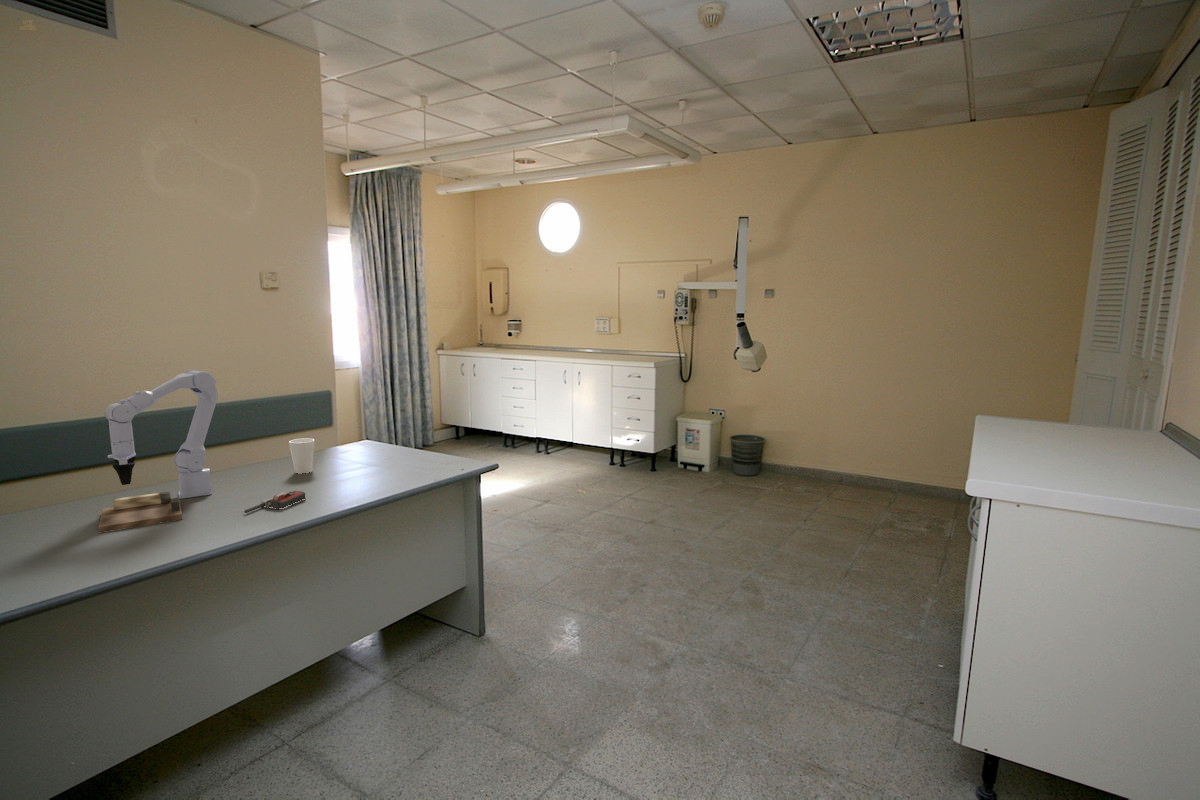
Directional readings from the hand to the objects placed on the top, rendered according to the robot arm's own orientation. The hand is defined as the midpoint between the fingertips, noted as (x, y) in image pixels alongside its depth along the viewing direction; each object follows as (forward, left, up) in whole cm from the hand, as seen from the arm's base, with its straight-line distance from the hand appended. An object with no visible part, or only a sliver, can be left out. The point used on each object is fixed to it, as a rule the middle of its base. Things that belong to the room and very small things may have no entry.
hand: (126, 481), depth 192 cm
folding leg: (-4, +5, -7) cm, 9 cm away
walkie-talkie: (-40, +23, -10) cm, 47 cm away
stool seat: (-3, +11, -9) cm, 15 cm away
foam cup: (-55, -18, -10) cm, 59 cm away
